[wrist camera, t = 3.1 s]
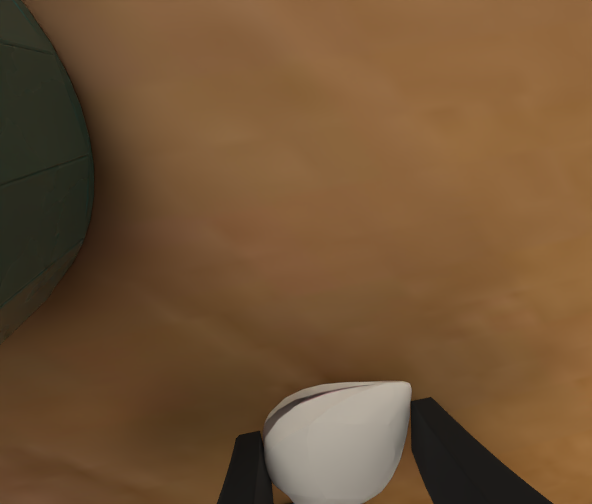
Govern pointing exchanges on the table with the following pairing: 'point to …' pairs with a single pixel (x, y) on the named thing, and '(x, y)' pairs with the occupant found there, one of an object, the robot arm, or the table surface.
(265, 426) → the cream teardrop shape
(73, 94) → the saucepan
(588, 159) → the table surface
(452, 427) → the robot arm
